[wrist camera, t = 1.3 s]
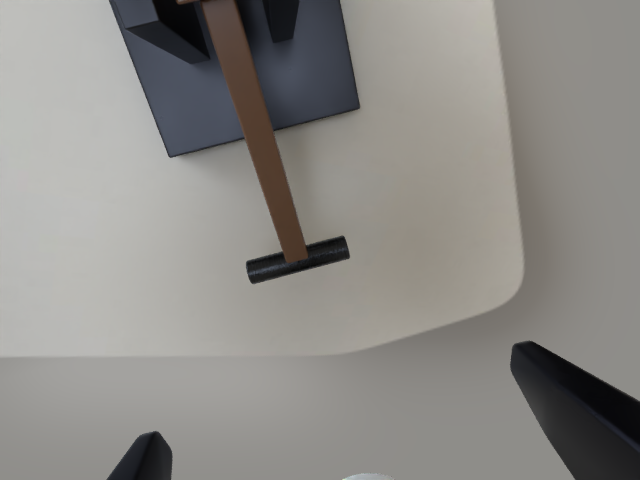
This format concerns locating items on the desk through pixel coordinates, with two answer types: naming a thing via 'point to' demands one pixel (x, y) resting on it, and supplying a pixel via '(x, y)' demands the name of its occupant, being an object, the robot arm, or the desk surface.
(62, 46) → the desk surface
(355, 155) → the desk surface
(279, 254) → the lever
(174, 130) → the bracket
